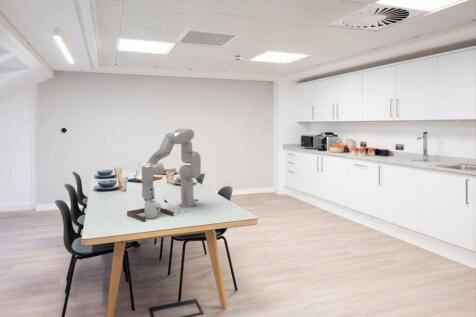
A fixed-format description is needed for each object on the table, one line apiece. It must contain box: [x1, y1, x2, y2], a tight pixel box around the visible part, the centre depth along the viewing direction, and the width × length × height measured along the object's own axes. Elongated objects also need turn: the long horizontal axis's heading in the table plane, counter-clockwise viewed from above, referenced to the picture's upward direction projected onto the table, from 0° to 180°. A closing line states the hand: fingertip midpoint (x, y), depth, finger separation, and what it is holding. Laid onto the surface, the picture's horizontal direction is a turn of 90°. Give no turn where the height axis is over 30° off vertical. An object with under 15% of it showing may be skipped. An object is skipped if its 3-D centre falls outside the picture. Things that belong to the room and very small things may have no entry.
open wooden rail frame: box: [126, 206, 174, 223], centre depth 254 cm, size 22×24×3 cm
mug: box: [144, 199, 162, 219], centre depth 249 cm, size 12×8×10 cm
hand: (148, 209), depth 254 cm, fingers closed
